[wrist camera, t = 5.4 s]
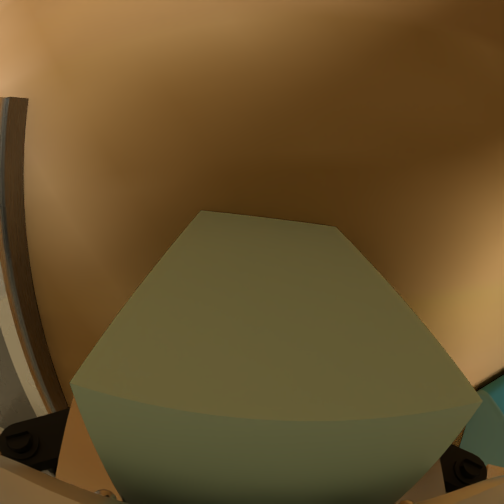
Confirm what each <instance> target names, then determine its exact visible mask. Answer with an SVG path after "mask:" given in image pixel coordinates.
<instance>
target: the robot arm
mask: <svg viewBox="0 0 504 504" xmlns="http://www.w3.org/2000/svg"><path fill="white" fill-rule="evenodd" d="M0 504H129V503H126V501H125V499H124V498H123V496H122V495H119V494H118V492H117V490H116V488H115V486H114V485H113V483H112V481H111V479H110V477H109V475H108V473H107V471H106V470H105V468H104V466H103V464H102V462H101V460H100V457H99V455H98V453H97V451H96V449H95V447H94V445H93V442H92V440H91V438H90V436H89V433H88V431H87V429H86V426H85V424H84V421H83V419H82V416H81V414H80V411H79V408H78V406H77V403H76V400H75V397H73V400H72V403H71V407H70V408H67V409H64V410H61V411H57V412H54V413H50V414H47V415H43V416H40V417H36V418H32V419H29V420H25V421H21V422H17V423H14V424H11V425H9V426H8V427H6V428H5V429H4V430H3V431H2V433H1V434H0ZM395 504H504V468H503V467H499V466H495V465H491V464H488V465H487V466H485V464H484V462H483V461H482V460H481V459H480V458H479V457H478V456H476V455H475V454H473V453H470V452H468V451H466V450H464V449H462V448H459V447H457V446H455V445H453V444H451V445H450V446H449V447H448V449H447V450H446V451H445V452H444V453H443V455H442V456H441V457H440V458H439V459H438V460H437V461H436V462H435V464H434V465H433V466H432V467H431V468H430V469H429V470H428V471H427V472H426V473H425V474H424V475H423V477H422V478H421V479H420V480H419V481H418V482H417V483H416V484H415V485H414V486H413V487H412V488H411V489H410V490H409V491H407V492H406V493H405V494H404V495H403V496H402V497H401V498H400V499H399V500H398V501H397V502H396V503H395Z"/></svg>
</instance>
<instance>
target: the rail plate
mask: <svg viewBox="0 0 504 504" xmlns="http://www.w3.org/2000/svg"><path fill="white" fill-rule="evenodd" d="M27 105H28V99H27V98H17V97H7V98H5V97H0V427H1V428H3V429H5V428H6V427H8V426H9V425H11V424H14V423H17V422H21V421H25V420H29V419H32V418H36V417H40V416H43V415H47V414H50V413H54V412H57V411H61V410H64V409H67V408H68V406H67V403H66V400H65V398H64V395H63V393H62V390H61V387H60V384H59V382H58V379H57V376H56V373H55V370H54V367H53V364H52V360H51V357H50V354H49V351H48V347H47V344H46V340H45V336H44V333H43V329H42V325H41V321H40V316H39V312H38V308H37V303H36V298H35V293H34V288H33V282H32V276H31V270H30V263H29V256H28V248H27V239H26V229H25V215H24V195H23V157H24V137H25V124H26V114H27Z"/></svg>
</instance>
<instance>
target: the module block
mask: <svg viewBox="0 0 504 504" xmlns="http://www.w3.org/2000/svg"><path fill="white" fill-rule="evenodd" d="M70 386H71V389H72V392H73V395H74V397H75V400H76V403H77V406H78V408H79V411H80V414H81V416H82V419H83V421H84V424H85V426H86V429H87V431H88V433H89V436H90V438H91V440H92V442H93V445H94V447H95V449H96V451H97V453H98V455H99V457H100V460H101V462H102V464H103V466H104V468H105V470H106V471H107V473H108V475H109V477H110V479H111V481H112V483H113V485H114V486H115V488H116V490H117V492H118V494H119V495H122V496H123V498H124V499H125V501H126V503H129V504H395V503H396V502H397V501H398V500H399V499H400V498H401V497H402V496H403V495H404V494H405V493H406V492H407V491H409V490H410V489H411V488H412V487H413V486H414V485H415V484H416V483H417V482H418V481H419V480H420V479H421V478H422V477H423V475H424V474H425V473H426V472H427V471H428V470H429V469H430V468H431V467H432V466H433V465H434V464H435V462H436V461H437V460H438V459H439V458H440V457H441V456H442V455H443V453H444V452H445V451H446V450H447V449H448V447H449V446H450V445H451V444H452V443H453V441H454V440H455V439H456V438H457V436H458V435H459V434H460V432H461V431H462V430H463V428H464V427H465V426H466V424H467V423H468V422H469V420H470V419H471V418H472V416H473V415H474V413H475V412H476V410H477V409H478V408H479V406H480V405H481V403H482V402H483V401H482V399H481V398H480V396H479V395H478V393H477V392H476V391H475V389H474V388H473V387H472V385H471V384H470V382H469V381H468V380H467V378H466V377H465V376H464V374H463V373H462V372H461V370H460V369H459V368H458V366H457V365H456V364H455V362H454V361H453V360H452V359H451V357H450V356H449V355H448V353H447V352H446V351H445V350H444V348H443V347H442V346H441V344H440V343H439V342H438V341H437V339H436V338H435V337H434V336H433V335H432V333H431V332H430V331H429V330H428V328H427V327H426V326H425V325H424V324H423V322H422V321H421V320H420V319H419V318H418V316H417V315H416V314H415V313H414V312H413V310H412V309H411V308H410V307H409V306H408V305H407V303H406V302H405V301H404V300H403V299H402V298H401V297H400V295H399V294H398V293H397V292H396V291H395V290H394V289H393V287H392V286H391V285H390V284H389V283H388V282H387V281H386V280H385V278H384V277H383V276H382V275H381V274H380V273H379V272H378V271H377V270H376V269H375V267H374V266H373V265H372V264H371V263H370V262H369V261H368V260H367V259H366V258H365V257H364V256H363V255H362V253H361V252H360V251H359V250H358V249H357V248H356V247H355V246H354V245H353V244H352V243H351V242H350V241H349V240H348V239H347V238H346V237H345V236H344V235H343V234H342V233H341V232H340V231H339V230H338V228H337V227H334V226H327V225H320V224H313V223H305V222H297V221H290V220H282V219H274V218H265V217H257V216H248V215H240V214H231V213H221V212H212V211H202V210H201V211H200V212H199V213H198V214H197V215H196V217H195V218H194V219H193V220H192V221H191V223H190V224H189V225H188V226H187V227H186V228H185V230H184V231H183V232H182V233H181V234H180V236H179V237H178V238H177V239H176V241H175V242H174V243H173V244H172V245H171V247H170V248H169V249H168V250H167V252H166V253H165V254H164V255H163V256H162V258H161V259H160V260H159V261H158V263H157V264H156V265H155V266H154V268H153V269H152V270H151V272H150V273H149V274H148V275H147V277H146V278H145V279H144V280H143V282H142V283H141V284H140V286H139V287H138V288H137V289H136V291H135V292H134V293H133V295H132V296H131V297H130V299H129V300H128V301H127V303H126V304H125V305H124V307H123V308H122V309H121V311H120V312H119V313H118V315H117V316H116V317H115V319H114V320H113V321H112V323H111V324H110V325H109V327H108V328H107V330H106V331H105V332H104V334H103V335H102V337H101V338H100V339H99V341H98V342H97V344H96V345H95V346H94V348H93V349H92V351H91V352H90V354H89V355H88V356H87V358H86V359H85V361H84V362H83V364H82V365H81V367H80V368H79V370H78V371H77V372H76V374H75V375H74V377H73V378H72V380H71V381H70Z"/></svg>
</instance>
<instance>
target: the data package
mask: <svg viewBox="0 0 504 504" xmlns="http://www.w3.org/2000/svg"><path fill="white" fill-rule="evenodd" d="M477 393H478V395H479V396H480V398H481V399H482V401H483V402H482V403H481V405H480V406H479V408H478V409H477V410H476V412H475V413H474V415H473V416H472V418H471V419H470V420H469V422H468V423H467V424H466V427H465V430H464V434H463V437H462V440H461V443H460V447H459V448H462V449H464V450H466V451H468V452H470V453H473V454H475V455H476V456H478V457H479V458H480V459H481V460H482V461H483V462H484V464H485V466H487V465H488V464H491V465H495V466H499V467H503V468H504V375H502V376H501V377H499V378H497V379H496V380H494V381H493V382H491V383H490V384H488V385H486V386H485V387H483V388H482V389H480V390H478V391H477Z"/></svg>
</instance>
